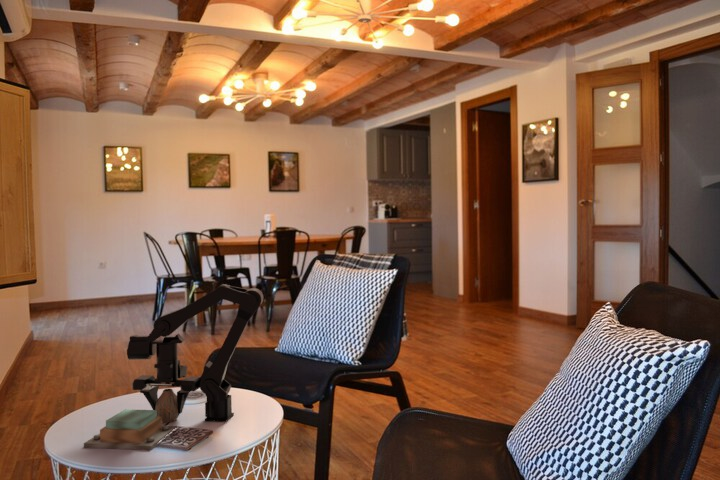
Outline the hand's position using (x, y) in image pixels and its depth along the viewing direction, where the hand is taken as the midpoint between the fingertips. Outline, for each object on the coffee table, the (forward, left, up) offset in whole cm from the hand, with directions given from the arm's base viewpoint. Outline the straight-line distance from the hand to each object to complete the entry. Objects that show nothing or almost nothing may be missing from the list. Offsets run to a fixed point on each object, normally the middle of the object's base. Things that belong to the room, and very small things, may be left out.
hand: (168, 413), depth 160 cm
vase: (0, 0, -2) cm, 2 cm away
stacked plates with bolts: (+3, +14, -2) cm, 14 cm away
